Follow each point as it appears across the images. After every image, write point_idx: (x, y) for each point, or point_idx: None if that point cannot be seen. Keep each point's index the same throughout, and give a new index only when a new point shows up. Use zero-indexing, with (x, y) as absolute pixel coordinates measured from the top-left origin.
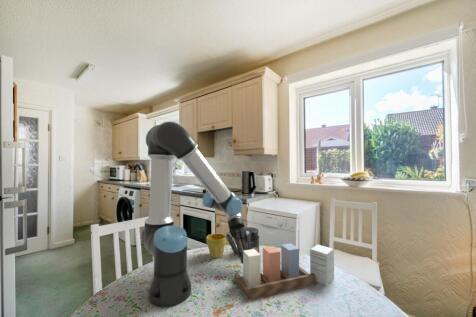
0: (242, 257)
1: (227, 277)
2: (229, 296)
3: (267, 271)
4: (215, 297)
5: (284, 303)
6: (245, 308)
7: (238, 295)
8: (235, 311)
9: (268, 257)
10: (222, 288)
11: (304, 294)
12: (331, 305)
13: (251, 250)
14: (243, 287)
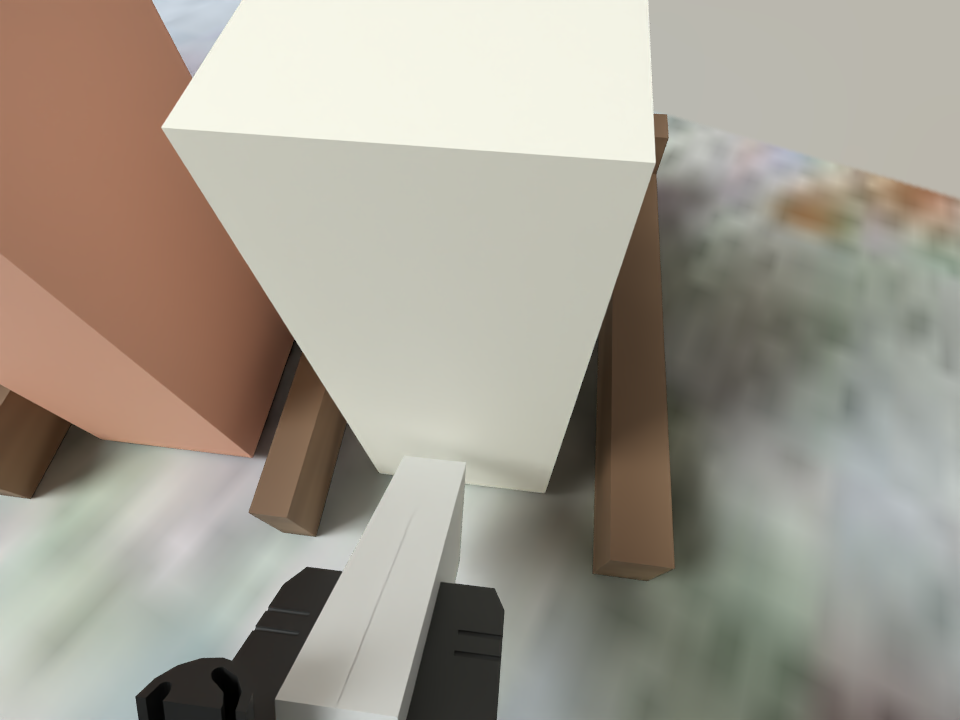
0: (455, 683)
1: (742, 702)
2: (792, 305)
3: (247, 268)
4: (947, 346)
5: None
6: (690, 150)
7: (698, 285)
8: (775, 153)
9: (132, 31)
10: (856, 458)
11: None
12: (163, 11)
13: (351, 71)
14: (656, 248)
